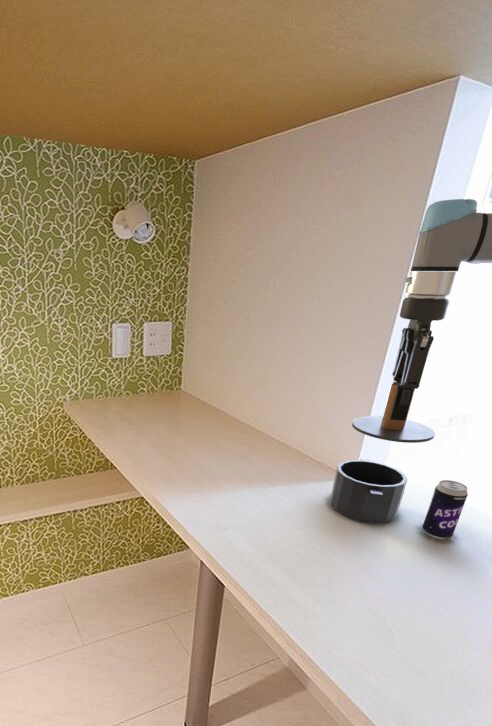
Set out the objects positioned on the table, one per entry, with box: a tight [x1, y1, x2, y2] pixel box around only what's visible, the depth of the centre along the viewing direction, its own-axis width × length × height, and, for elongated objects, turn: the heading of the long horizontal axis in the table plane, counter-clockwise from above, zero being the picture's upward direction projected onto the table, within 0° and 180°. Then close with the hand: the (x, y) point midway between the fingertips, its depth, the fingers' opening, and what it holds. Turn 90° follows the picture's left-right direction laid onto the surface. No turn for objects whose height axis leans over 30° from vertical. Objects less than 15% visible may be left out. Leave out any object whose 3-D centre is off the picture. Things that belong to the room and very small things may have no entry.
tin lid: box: [351, 382, 436, 444], centre depth 91 cm, size 16×16×10 cm
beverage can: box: [422, 479, 468, 540], centre depth 93 cm, size 6×6×12 cm
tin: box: [329, 458, 408, 525], centre depth 104 cm, size 15×20×10 cm
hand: (395, 415), depth 92 cm, fingers closed on tin lid, 4 cm apart
